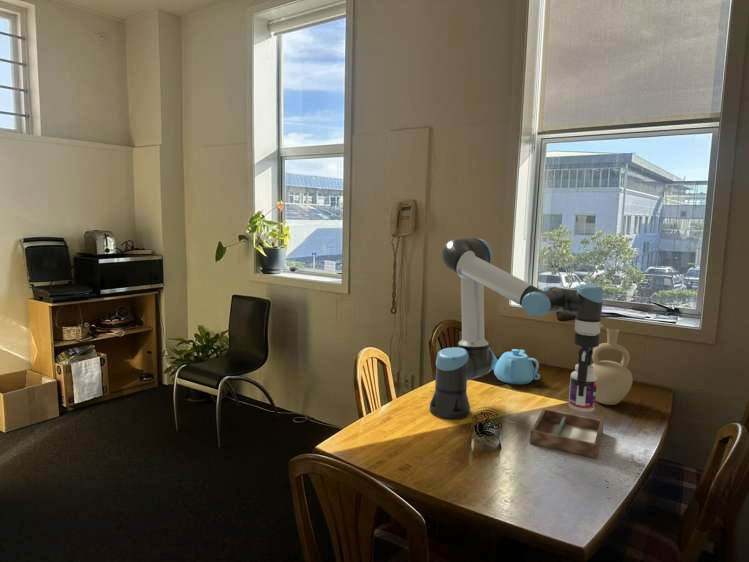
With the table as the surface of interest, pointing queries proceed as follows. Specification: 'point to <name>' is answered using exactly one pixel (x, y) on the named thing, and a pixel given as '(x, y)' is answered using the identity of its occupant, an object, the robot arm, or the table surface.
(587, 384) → the pill bottle
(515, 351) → the teapot
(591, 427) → the crate
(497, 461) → the table surface
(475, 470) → the table surface
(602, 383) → the vase
